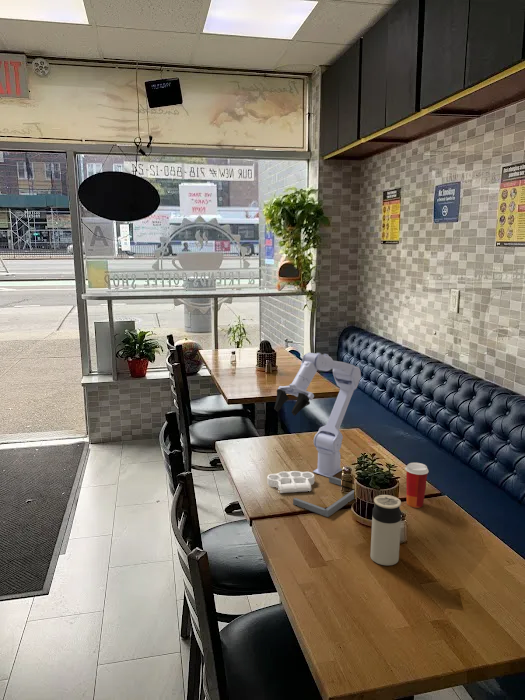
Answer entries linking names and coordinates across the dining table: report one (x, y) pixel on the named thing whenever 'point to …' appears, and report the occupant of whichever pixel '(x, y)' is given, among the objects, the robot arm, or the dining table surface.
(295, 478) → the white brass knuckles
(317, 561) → the dining table surface
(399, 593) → the dining table surface
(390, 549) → the travel mug
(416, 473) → the paper cup
